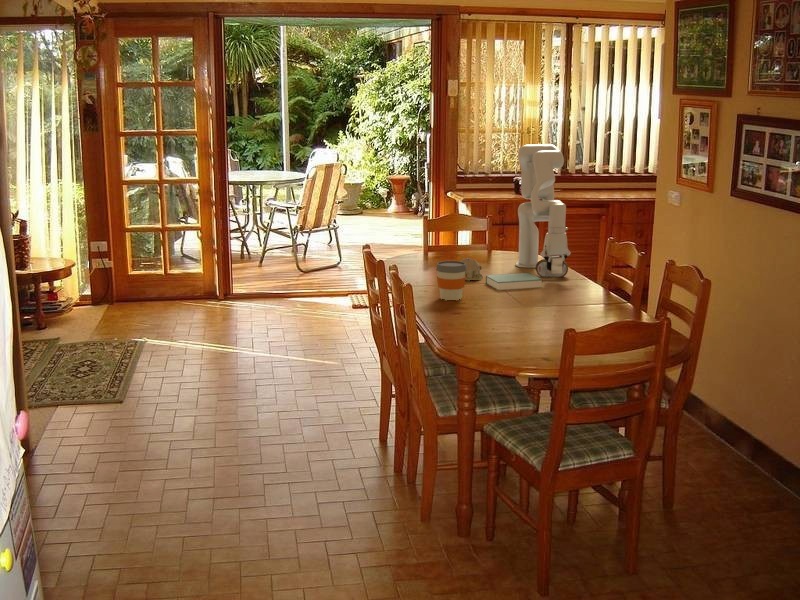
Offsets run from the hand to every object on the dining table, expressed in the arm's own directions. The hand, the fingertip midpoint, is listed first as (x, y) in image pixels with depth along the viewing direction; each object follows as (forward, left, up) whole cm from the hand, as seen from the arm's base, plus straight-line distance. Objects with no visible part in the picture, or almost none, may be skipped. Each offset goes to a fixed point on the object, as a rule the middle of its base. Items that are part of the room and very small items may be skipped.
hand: (554, 269), depth 425 cm
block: (0, 0, -2) cm, 2 cm away
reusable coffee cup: (+18, -56, -6) cm, 59 cm away
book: (+2, -21, -6) cm, 22 cm away
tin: (-10, +3, -6) cm, 12 cm away
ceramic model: (-18, -35, -6) cm, 40 cm away
